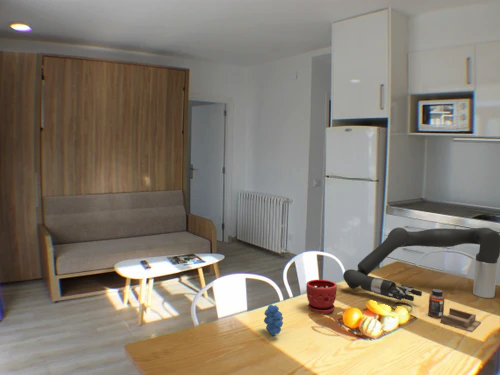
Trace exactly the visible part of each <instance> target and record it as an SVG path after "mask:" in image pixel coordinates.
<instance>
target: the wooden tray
mask: <svg viewBox="0 0 500 375" xmlns="http://www.w3.org/2000/svg"><path fill="white" fill-rule="evenodd" d="M476 317H477V315H476V314H473V313H470V312H467V311H462V310H459V309H455V308H453V307H452V308H451V307H450V308H449V312H448V314H447V315H445V314H443V315H441V318H440V322H439V323H440V324H444V325H447V326H448V327H449V326H450V327H454V328H455V329H459V330H463V331H466V332H469V333H473V332H474V331H475V330H476V329H477V328H478V327H479V326H480V325H481V323H482V322H481V321H479V320H476Z"/></svg>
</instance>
